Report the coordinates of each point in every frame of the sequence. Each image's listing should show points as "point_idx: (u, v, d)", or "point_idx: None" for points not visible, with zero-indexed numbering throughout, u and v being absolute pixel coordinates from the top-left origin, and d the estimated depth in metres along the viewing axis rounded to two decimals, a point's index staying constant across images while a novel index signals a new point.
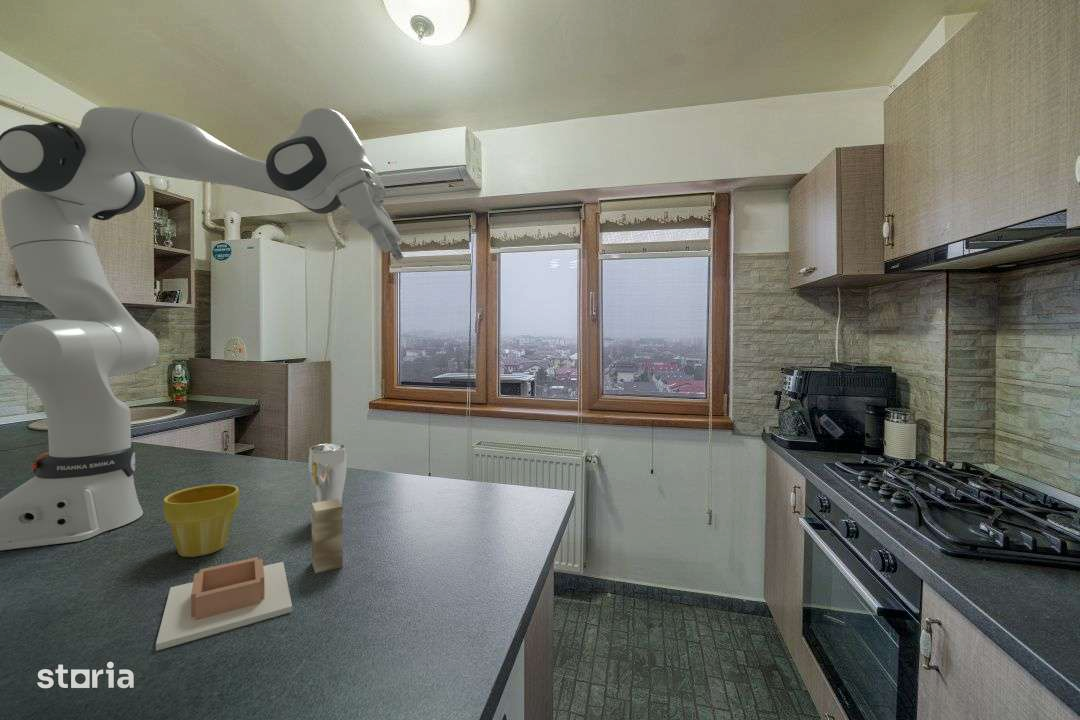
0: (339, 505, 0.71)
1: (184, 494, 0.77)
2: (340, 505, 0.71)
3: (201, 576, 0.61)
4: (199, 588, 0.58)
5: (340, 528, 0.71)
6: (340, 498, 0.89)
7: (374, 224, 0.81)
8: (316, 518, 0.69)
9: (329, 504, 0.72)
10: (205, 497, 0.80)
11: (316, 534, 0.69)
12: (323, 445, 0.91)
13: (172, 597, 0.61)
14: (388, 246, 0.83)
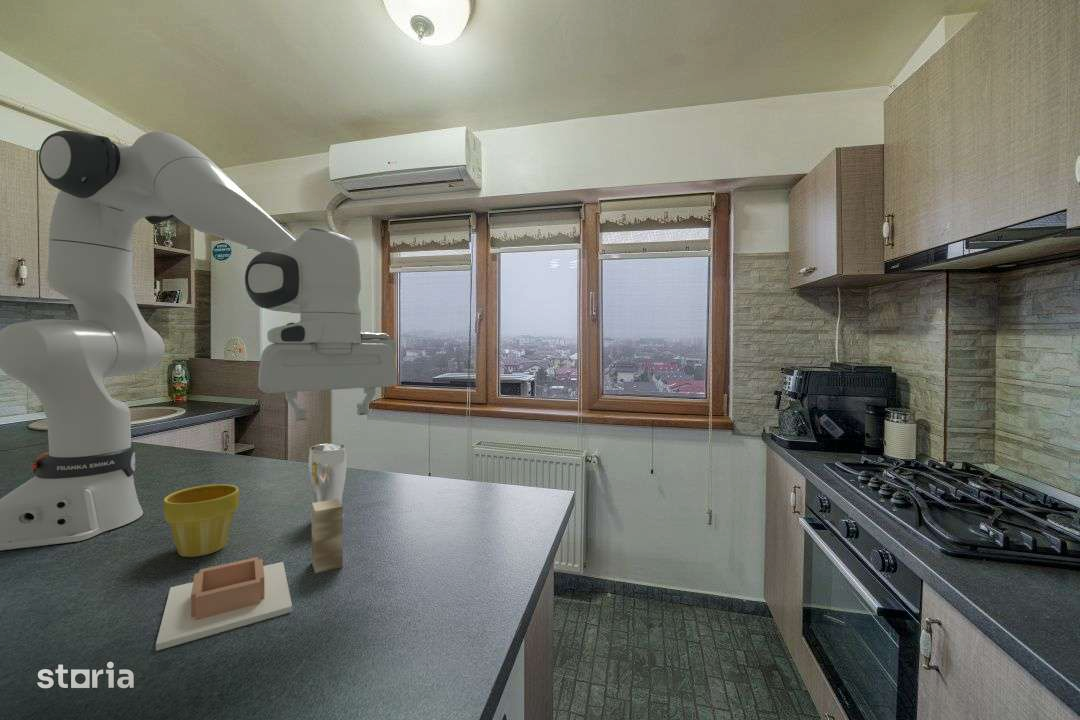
0: (339, 505, 0.71)
1: (184, 494, 0.77)
2: (340, 505, 0.71)
3: (201, 576, 0.61)
4: (199, 588, 0.58)
5: (340, 528, 0.71)
6: (340, 498, 0.89)
7: None
8: (316, 518, 0.69)
9: (329, 504, 0.72)
10: (205, 497, 0.80)
11: (316, 534, 0.69)
12: (323, 445, 0.91)
13: (172, 597, 0.61)
14: (295, 417, 0.68)
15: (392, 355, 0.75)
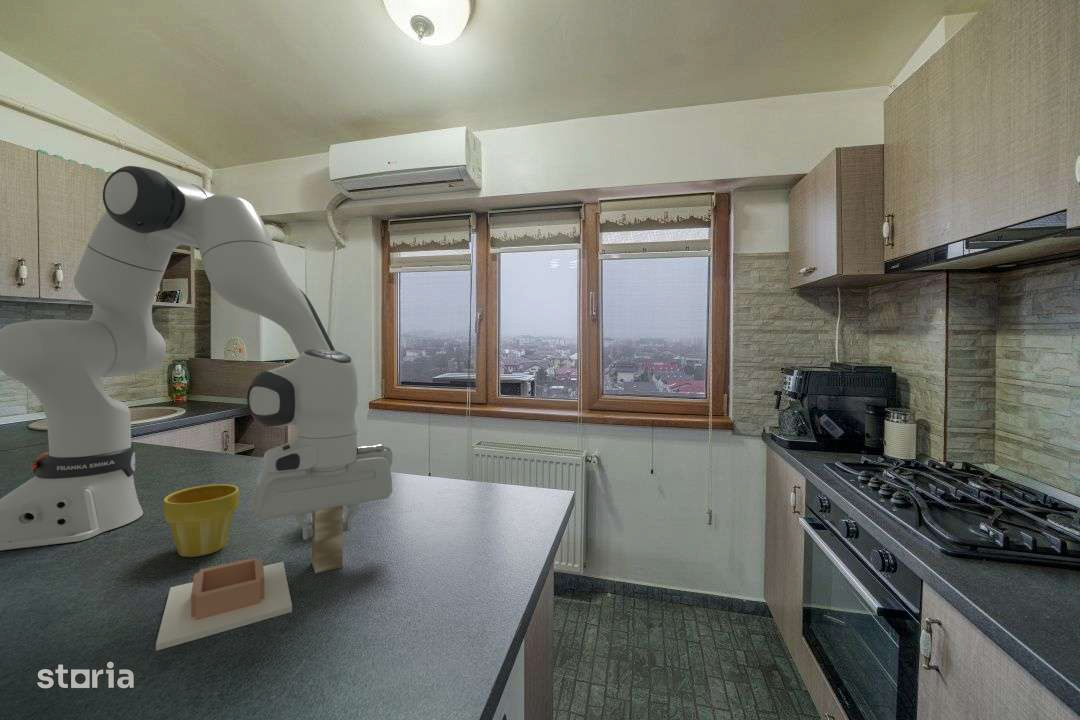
0: None
1: (184, 494, 0.77)
2: None
3: (201, 576, 0.61)
4: (199, 588, 0.58)
5: (340, 528, 0.71)
6: None
7: None
8: (316, 518, 0.69)
9: None
10: (205, 497, 0.80)
11: (316, 534, 0.69)
12: None
13: (172, 597, 0.61)
14: (304, 537, 0.69)
15: (388, 468, 0.75)
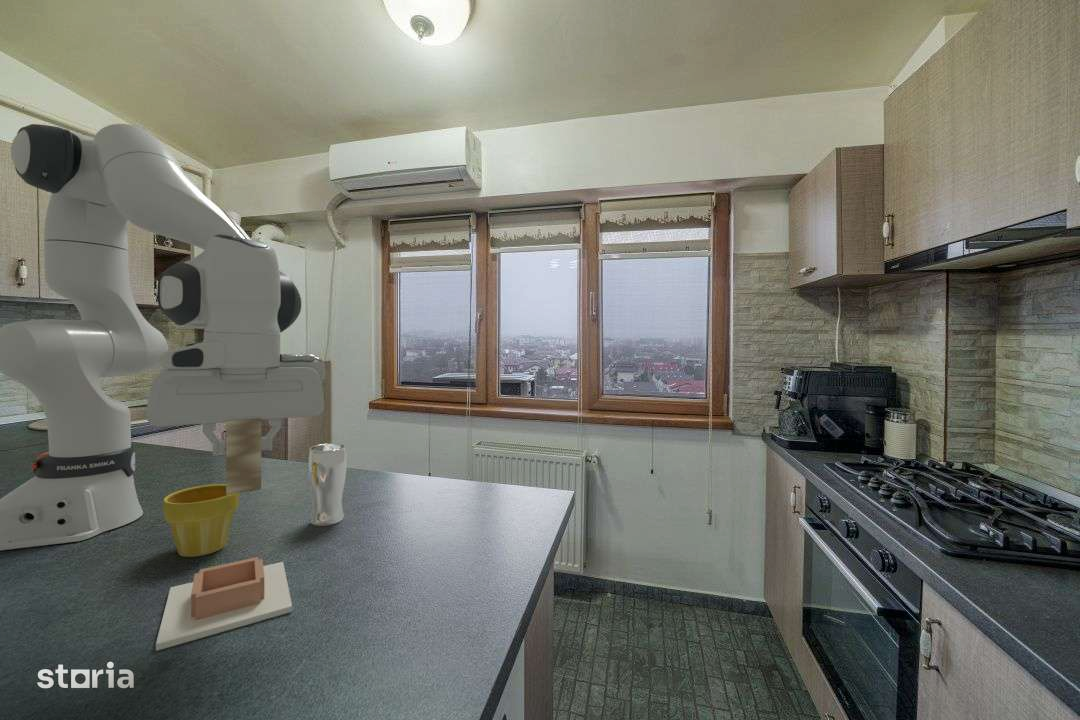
0: None
1: (183, 494, 0.77)
2: None
3: (201, 576, 0.61)
4: (199, 588, 0.58)
5: (258, 444, 0.61)
6: (340, 498, 0.89)
7: None
8: (227, 429, 0.59)
9: None
10: (205, 497, 0.80)
11: (227, 449, 0.59)
12: (323, 445, 0.91)
13: (172, 597, 0.61)
14: (213, 452, 0.60)
15: (318, 380, 0.65)
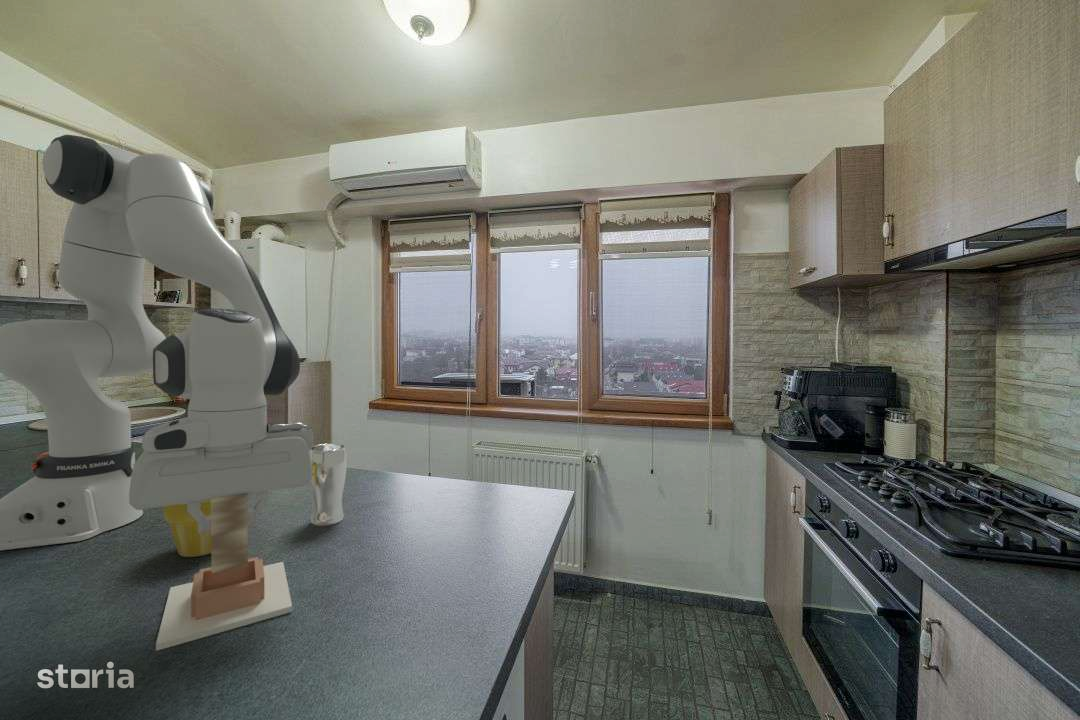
0: None
1: None
2: None
3: (201, 576, 0.61)
4: (199, 588, 0.58)
5: (244, 519, 0.60)
6: (340, 498, 0.89)
7: None
8: (212, 507, 0.58)
9: None
10: None
11: (212, 527, 0.58)
12: (323, 445, 0.91)
13: (172, 597, 0.61)
14: None
15: (306, 449, 0.64)
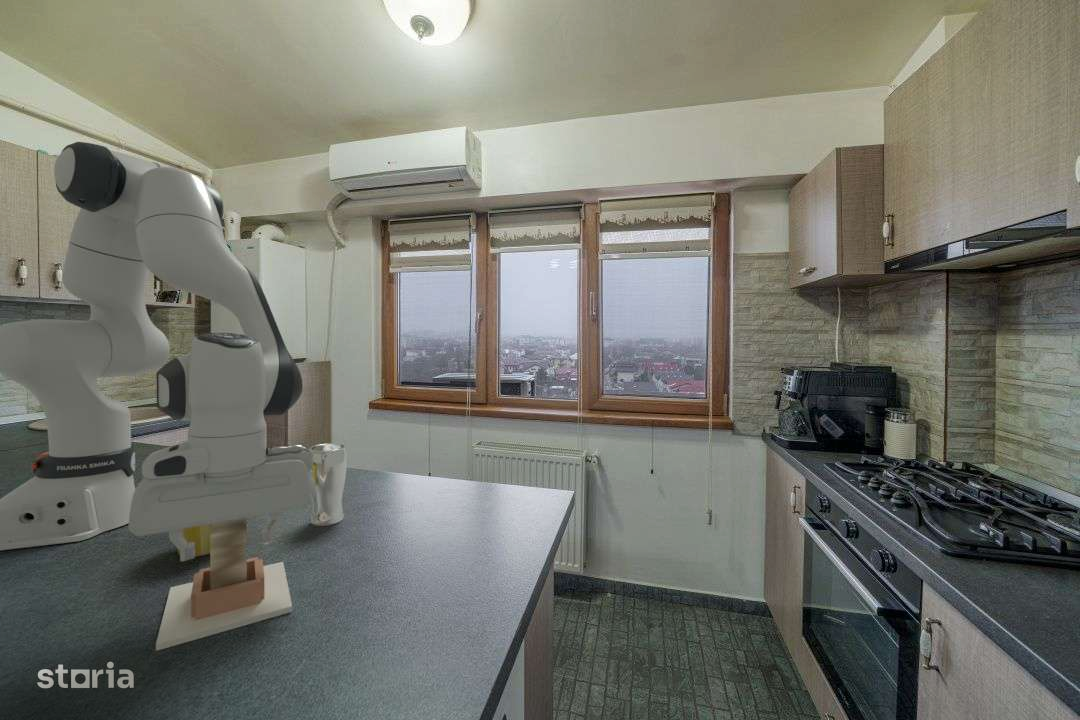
0: (242, 527, 0.61)
1: None
2: (244, 527, 0.61)
3: (201, 576, 0.61)
4: (199, 588, 0.58)
5: (243, 554, 0.60)
6: (340, 498, 0.89)
7: None
8: (211, 543, 0.58)
9: (231, 526, 0.61)
10: None
11: (211, 562, 0.58)
12: (323, 445, 0.91)
13: (172, 597, 0.61)
14: None
15: (305, 472, 0.64)
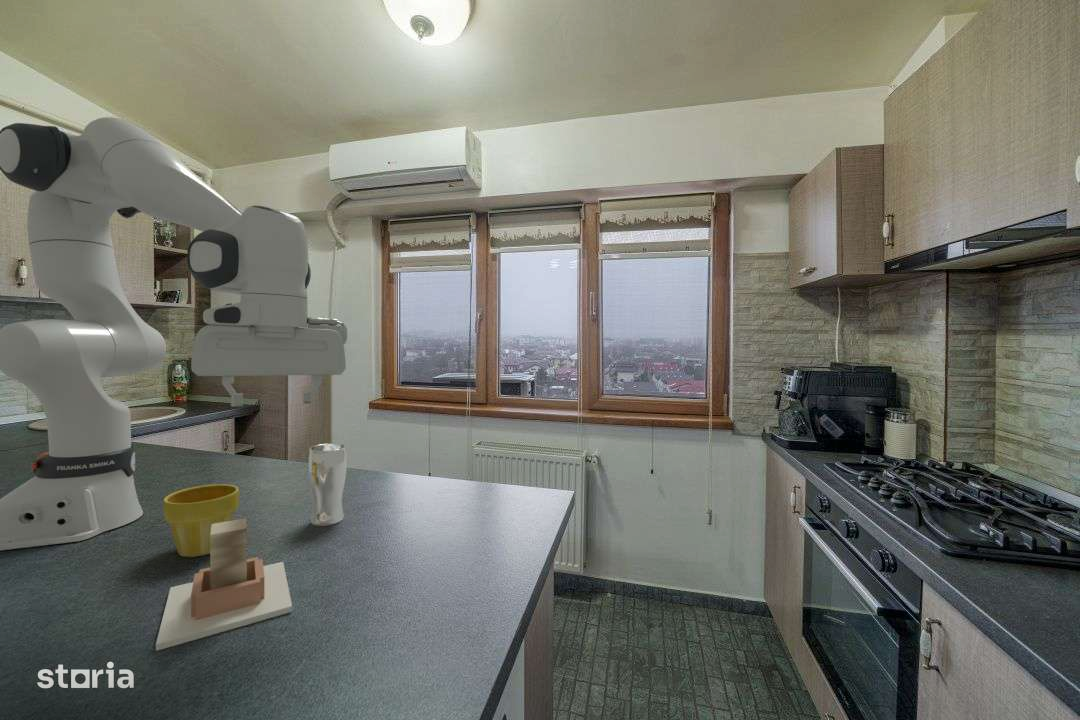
0: (242, 527, 0.61)
1: (184, 494, 0.77)
2: (244, 527, 0.61)
3: (201, 576, 0.61)
4: (199, 588, 0.58)
5: (243, 554, 0.60)
6: (340, 498, 0.89)
7: None
8: (211, 543, 0.58)
9: (231, 526, 0.61)
10: (205, 497, 0.80)
11: (211, 562, 0.58)
12: (323, 445, 0.91)
13: (172, 597, 0.61)
14: (231, 403, 0.65)
15: (341, 342, 0.72)
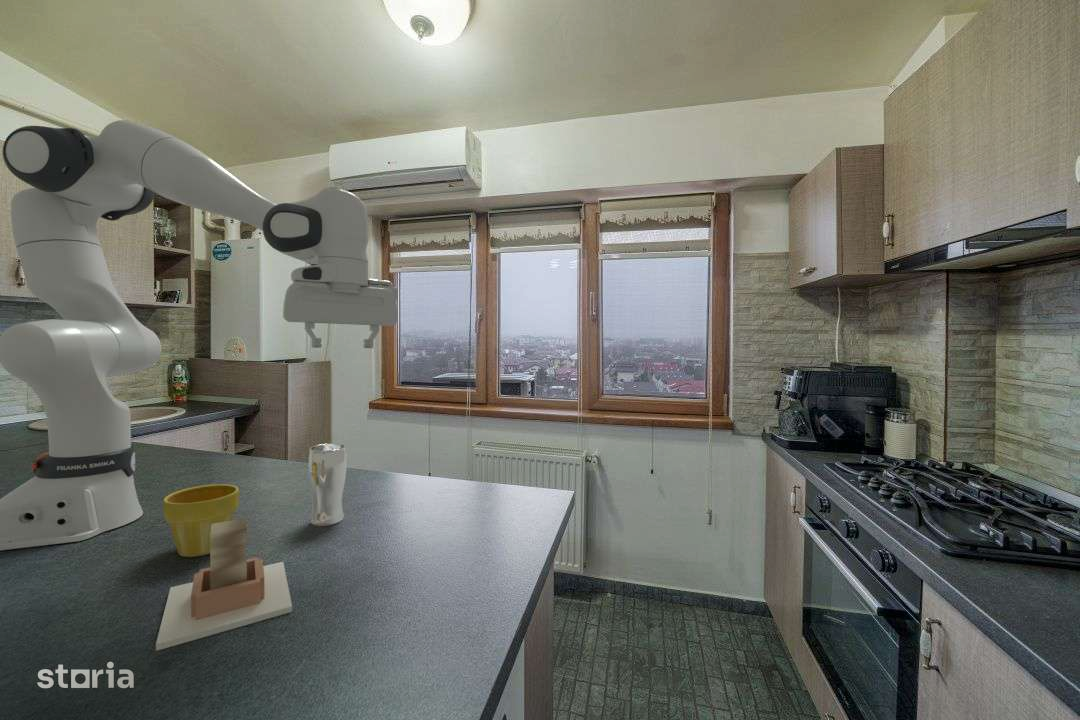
0: (242, 527, 0.61)
1: (184, 494, 0.77)
2: (244, 527, 0.61)
3: (201, 576, 0.61)
4: (199, 588, 0.58)
5: (243, 554, 0.60)
6: (340, 498, 0.89)
7: (302, 322, 0.81)
8: (211, 543, 0.58)
9: (231, 526, 0.61)
10: (205, 497, 0.80)
11: (211, 562, 0.58)
12: (323, 445, 0.91)
13: (172, 597, 0.61)
14: (312, 344, 0.82)
15: (394, 299, 0.89)
